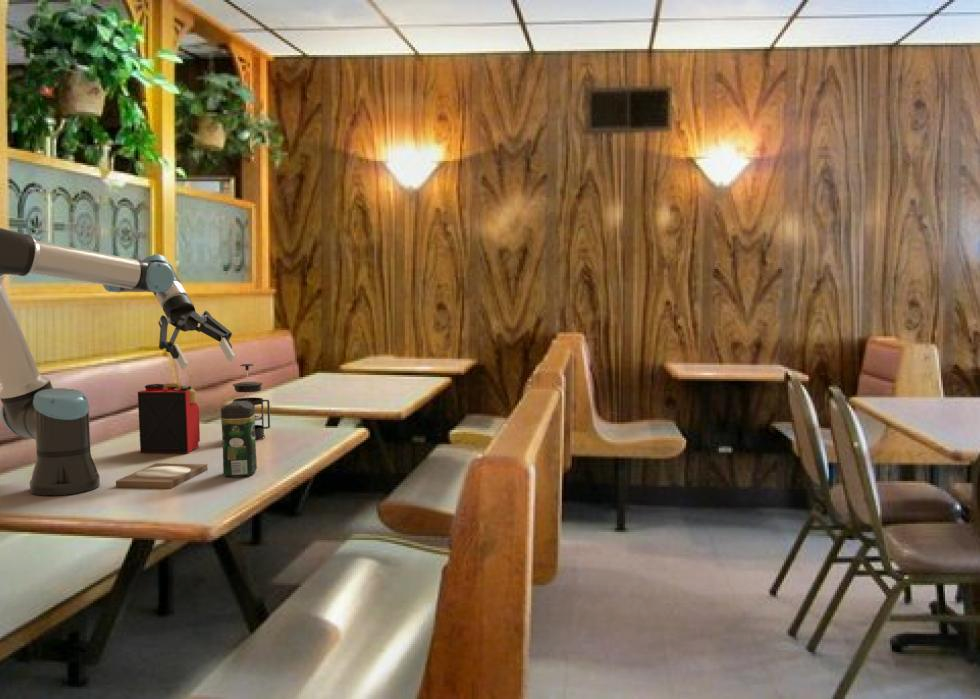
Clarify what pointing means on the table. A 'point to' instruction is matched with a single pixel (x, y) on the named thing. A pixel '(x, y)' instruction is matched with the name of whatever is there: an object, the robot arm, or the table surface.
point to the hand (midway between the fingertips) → (209, 362)
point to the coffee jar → (238, 439)
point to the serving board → (161, 475)
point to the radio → (168, 419)
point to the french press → (253, 401)
